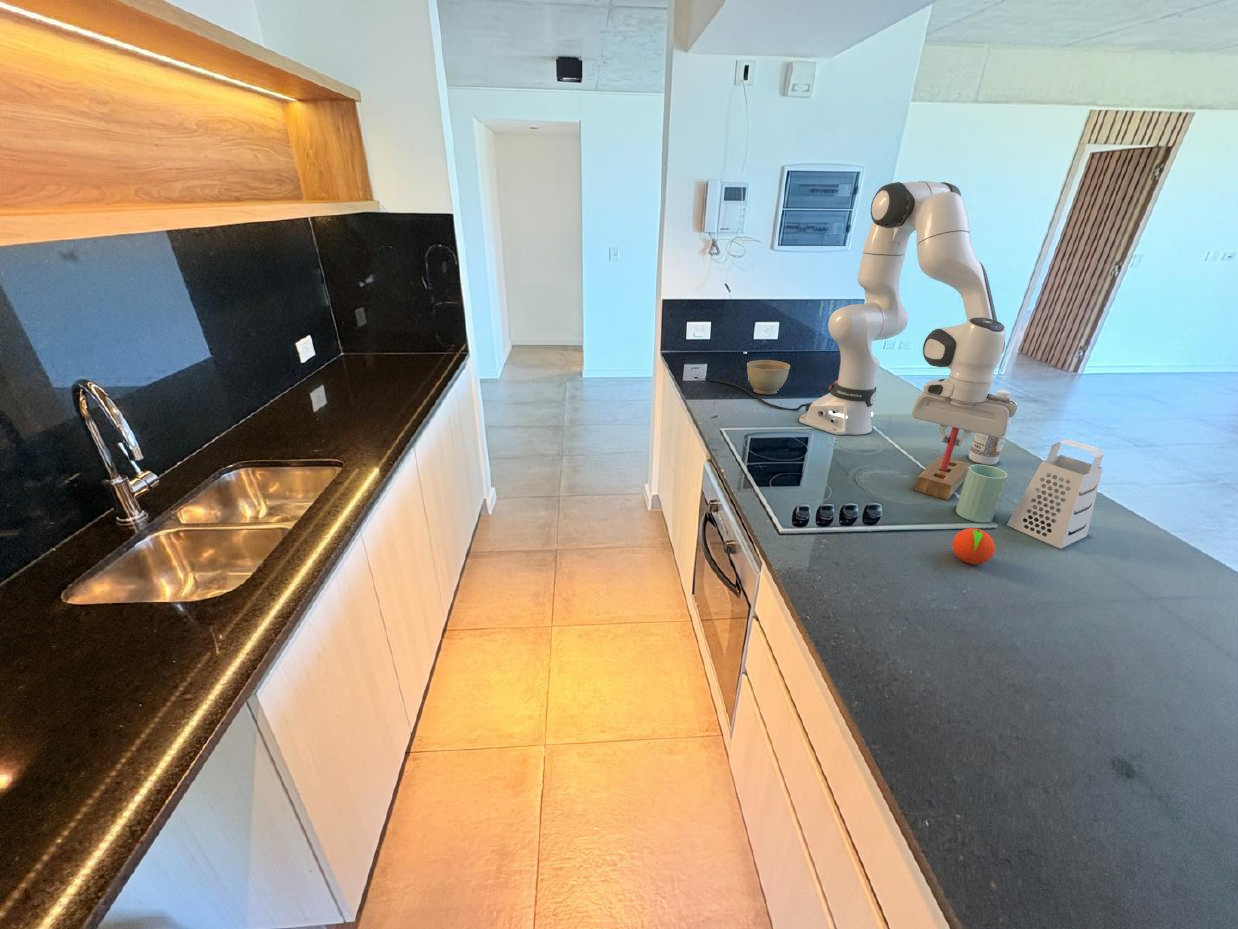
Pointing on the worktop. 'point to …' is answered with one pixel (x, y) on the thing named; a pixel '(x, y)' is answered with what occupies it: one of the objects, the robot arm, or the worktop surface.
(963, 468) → the block
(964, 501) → the cup
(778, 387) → the planter bowl
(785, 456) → the worktop surface
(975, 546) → the clementine
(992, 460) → the bath foam
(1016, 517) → the grater
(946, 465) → the straw
